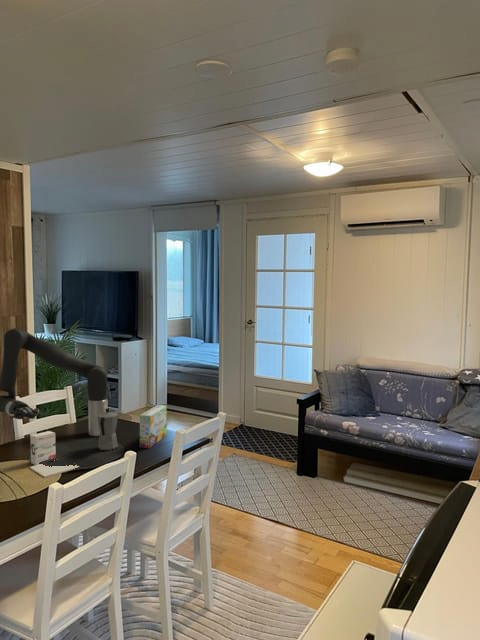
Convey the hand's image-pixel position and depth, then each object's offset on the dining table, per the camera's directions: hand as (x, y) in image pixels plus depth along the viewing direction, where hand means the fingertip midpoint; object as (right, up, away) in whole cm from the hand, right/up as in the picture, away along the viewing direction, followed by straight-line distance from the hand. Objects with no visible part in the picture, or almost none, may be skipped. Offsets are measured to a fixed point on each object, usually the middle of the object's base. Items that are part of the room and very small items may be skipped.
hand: (32, 416), depth 198 cm
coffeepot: (+28, -17, +11) cm, 35 cm away
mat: (+14, -18, -13) cm, 26 cm away
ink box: (+7, -18, -5) cm, 20 cm away
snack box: (+47, -16, +22) cm, 55 cm away
